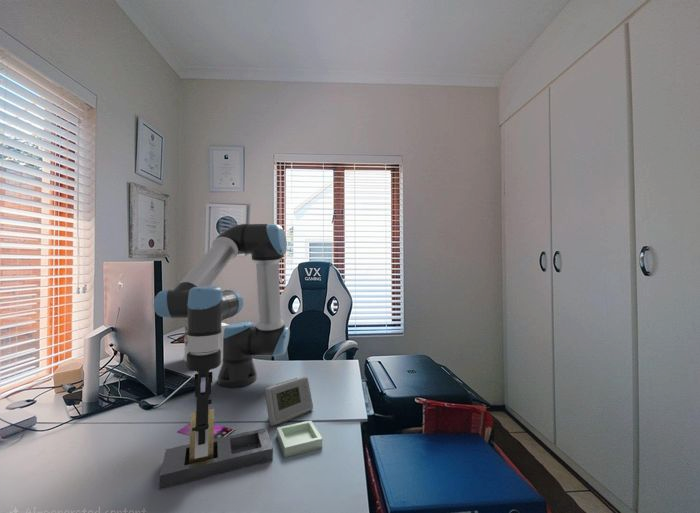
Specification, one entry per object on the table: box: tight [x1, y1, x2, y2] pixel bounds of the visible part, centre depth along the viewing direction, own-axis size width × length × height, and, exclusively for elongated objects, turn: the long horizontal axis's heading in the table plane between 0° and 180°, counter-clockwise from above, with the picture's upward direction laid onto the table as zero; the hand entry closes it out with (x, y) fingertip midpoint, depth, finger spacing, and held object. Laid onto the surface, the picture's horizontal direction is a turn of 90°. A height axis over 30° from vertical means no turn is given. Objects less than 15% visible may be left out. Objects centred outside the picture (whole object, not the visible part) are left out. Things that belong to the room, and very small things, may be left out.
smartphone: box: [176, 423, 236, 439], centre depth 87 cm, size 7×15×1 cm, turn 70°
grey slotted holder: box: [158, 427, 274, 490], centre depth 74 cm, size 10×24×3 cm, turn 115°
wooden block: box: [188, 408, 215, 465], centre depth 73 cm, size 5×5×12 cm
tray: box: [276, 419, 323, 458], centre depth 82 cm, size 10×10×2 cm
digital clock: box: [264, 375, 314, 427], centre depth 97 cm, size 16×9×11 cm, turn 123°
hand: (202, 443), depth 72 cm, fingers open, 10 cm apart
